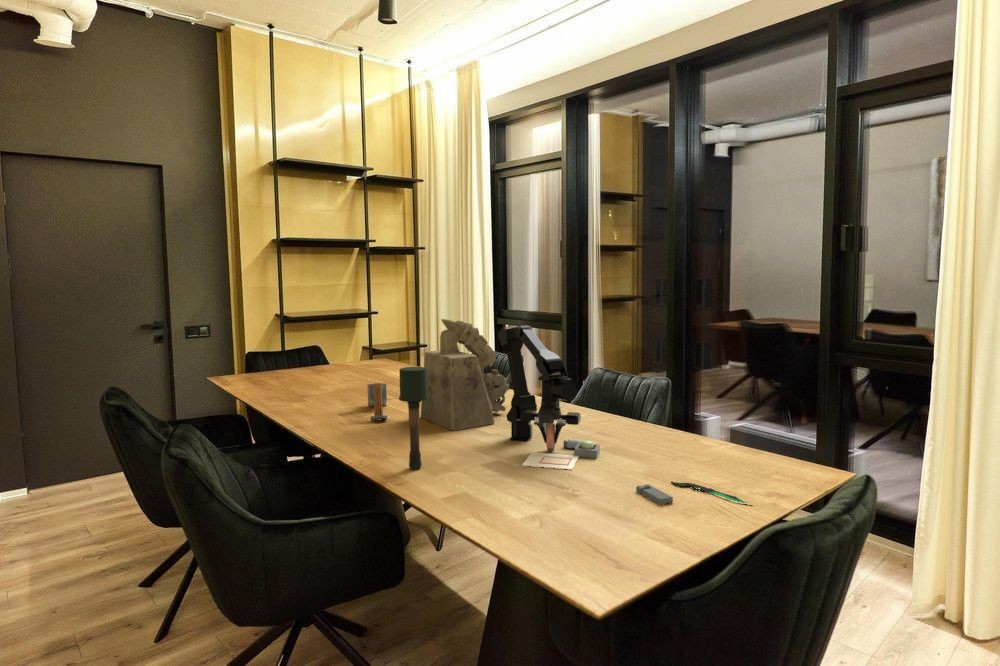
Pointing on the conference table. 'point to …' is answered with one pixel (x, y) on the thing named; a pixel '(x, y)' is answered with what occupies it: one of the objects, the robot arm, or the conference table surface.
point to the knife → (707, 490)
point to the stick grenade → (413, 406)
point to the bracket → (654, 494)
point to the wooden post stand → (377, 399)
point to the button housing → (587, 451)
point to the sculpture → (462, 380)
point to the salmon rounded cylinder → (550, 436)
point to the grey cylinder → (571, 443)
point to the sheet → (551, 461)
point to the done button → (587, 444)
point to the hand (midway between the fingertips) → (550, 443)
